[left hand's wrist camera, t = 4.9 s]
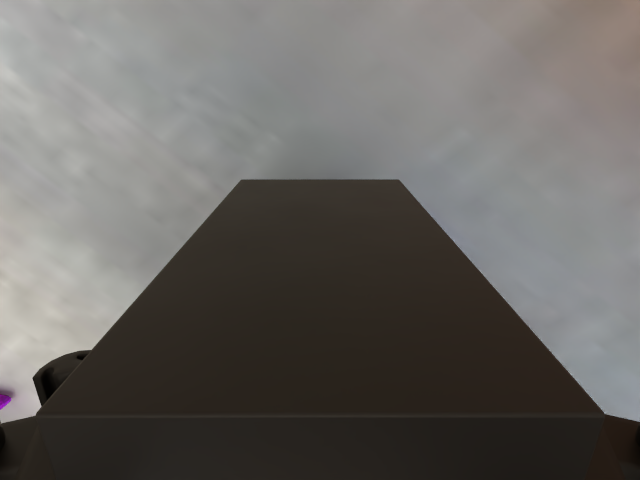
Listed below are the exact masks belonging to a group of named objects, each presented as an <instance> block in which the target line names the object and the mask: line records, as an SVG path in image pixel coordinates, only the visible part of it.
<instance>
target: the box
mask: <svg viewBox="0 0 640 480" xmlns="http://www.w3.org/2000/svg"><path fill="white" fill-rule="evenodd" d="M604 419H605V414H604V412H603V411H602V410H601V409H600V408H599V406H598V405H597V404H596V403H595V402H594V401H593V400H592V398H591V397H590V396H589V395H588V394H587V393H586V392H585V390H584V389H583V388H582V387H581V386H580V385H579V384H578V383H577V381H576V380H575V379H574V378H573V377H572V376H571V375H570V373H569V372H568V371H567V370H566V369H565V368H564V367H563V366H562V364H561V363H560V362H559V361H558V360H557V359H556V358H555V356H554V355H553V354H552V353H551V352H550V351H549V350H548V348H547V347H546V346H545V345H544V344H543V343H542V342H541V341H540V339H539V338H538V337H537V336H536V335H535V334H534V333H533V331H532V330H531V329H530V328H529V327H528V326H527V325H526V324H525V322H524V321H523V320H522V319H521V318H520V317H519V316H518V314H517V313H516V312H515V311H514V310H513V309H512V308H511V306H510V305H509V304H508V303H507V302H506V301H505V300H504V299H503V297H502V296H501V295H500V294H499V293H498V292H497V291H496V289H495V288H494V287H493V286H492V285H491V284H490V283H489V281H488V280H487V279H486V278H485V277H484V276H483V275H482V274H481V272H480V271H479V270H478V269H477V268H476V267H475V266H474V264H473V263H472V262H471V261H470V260H469V259H468V258H467V257H466V255H465V254H464V253H463V252H462V251H461V250H460V249H459V247H458V246H457V245H456V244H455V243H454V242H453V241H452V239H451V238H450V237H449V236H448V235H447V234H446V233H445V232H444V230H443V229H442V228H441V227H440V226H439V225H438V224H437V222H436V221H435V220H434V219H433V218H432V217H431V216H430V215H429V213H428V212H427V211H426V210H425V209H424V208H423V207H422V205H421V204H420V203H419V202H418V201H417V200H416V199H415V197H414V196H413V195H412V194H411V193H410V192H409V191H408V190H407V188H406V187H405V186H404V185H403V184H402V183H401V182H400V180H241V181H240V182H239V183H238V184H237V185H236V186H235V187H234V189H233V190H232V191H231V192H230V193H229V194H228V195H227V197H226V198H225V199H224V200H223V201H222V202H221V203H220V205H219V206H218V207H217V208H216V209H215V210H214V211H213V213H212V214H211V215H210V216H209V217H208V218H207V219H206V220H205V222H204V223H203V224H202V225H201V226H200V227H199V228H198V230H197V231H196V232H195V233H194V234H193V235H192V236H191V238H190V239H189V240H188V241H187V242H186V243H185V244H184V246H183V247H182V248H181V249H180V250H179V251H178V252H177V253H176V255H175V256H174V257H173V258H172V259H171V260H170V261H169V263H168V264H167V265H166V266H165V267H164V268H163V269H162V271H161V272H160V273H159V274H158V275H157V276H156V277H155V279H154V280H153V281H152V282H151V283H150V284H149V285H148V286H147V288H146V289H145V290H144V291H143V292H142V293H141V294H140V296H139V297H138V298H137V299H136V300H135V301H134V302H133V304H132V305H131V306H130V307H129V308H128V309H127V310H126V312H125V313H124V314H123V315H122V316H121V317H120V318H119V319H118V321H117V322H116V323H115V324H114V325H113V326H112V327H111V329H110V330H109V331H108V332H107V333H106V334H105V335H104V337H103V338H102V339H101V340H100V341H99V342H98V343H97V345H96V346H95V347H94V348H93V349H92V350H91V351H90V352H89V354H88V355H87V356H86V357H85V358H84V359H83V360H82V362H81V363H80V364H79V365H78V366H77V367H76V368H75V370H74V371H73V372H72V373H71V374H70V375H69V376H68V378H67V379H66V380H65V381H64V382H63V383H62V384H61V385H60V387H59V388H58V389H57V390H56V391H55V392H54V393H53V395H52V396H51V397H50V398H49V399H48V400H47V401H46V403H45V404H44V405H43V406H42V407H41V408H40V409H39V411H38V412H37V413H36V421H37V424H38V427H39V430H40V433H41V436H42V439H43V442H44V445H45V448H46V451H47V454H48V457H49V460H50V463H51V466H52V469H53V472H54V475H55V478H56V480H585V477H586V474H587V471H588V468H589V465H590V462H591V459H592V456H593V453H594V450H595V447H596V444H597V441H598V438H599V435H600V432H601V429H602V426H603V423H604Z"/></svg>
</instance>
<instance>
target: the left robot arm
mask: <svg viewBox="0 0 640 480" xmlns="http://www.w3.org/2000/svg"><path fill="white" fill-rule="evenodd" d="M90 351H91V350H85V351H77V352H73V353H70V354H66V355H63V356H61V357H59V358H57V359H55V360H52V361H51V362H49V363H48V364H46V365H45V366H43V367H42V368H41V369H39V371H38V372H37V373H36V374H35V375H34V377H33V381H34V384H35V387H36V391H37V394H38V397H39V400H40V403H41V406H43V405H44V404H45V403H46V401H47V400H48V399H49V398H50V397H51V396H52V395H53V393H54V392H55V391H56V390H57V389H58V388H59V387H60V385H61V384H62V383H63V382H64V381H65V380H66V379H67V378H68V376H69V375H70V374H71V373H72V372H73V371H74V370H75V368H76V367H77V366H78V365H79V364H80V363H81V362H82V360H83V359H84V358H85V357H86V356H87V355H88V354H89V352H90ZM0 480H56V478H55V475H54V472H53V469H52V466H51V463H50V460H49V457H48V454H47V451H46V448H45V445H44V442H43V439H42V436H41V433H40V430H39V427H38V424H37V421H36V416H33V417H28V418H24V419H20V420H15V421H11V422H6V423H2V424H1V422H0ZM585 480H640V422H637V421H633V420H628V419H624V418H619V417H615V416H610V415H606V414H605V419H604V423H603V426H602V429H601V432H600V435H599V438H598V441H597V444H596V447H595V450H594V453H593V456H592V459H591V462H590V465H589V468H588V471H587V474H586V477H585Z"/></svg>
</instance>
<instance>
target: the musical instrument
mask: <svg viewBox="0 0 640 480" xmlns="http://www.w3.org/2000/svg"><path fill="white" fill-rule="evenodd" d="M10 401H11V397H9V396H6V395H1V394H0V410H1V409H2V408H3V407H4V406H5V405H7V404H8V403H9V402H10Z"/></svg>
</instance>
